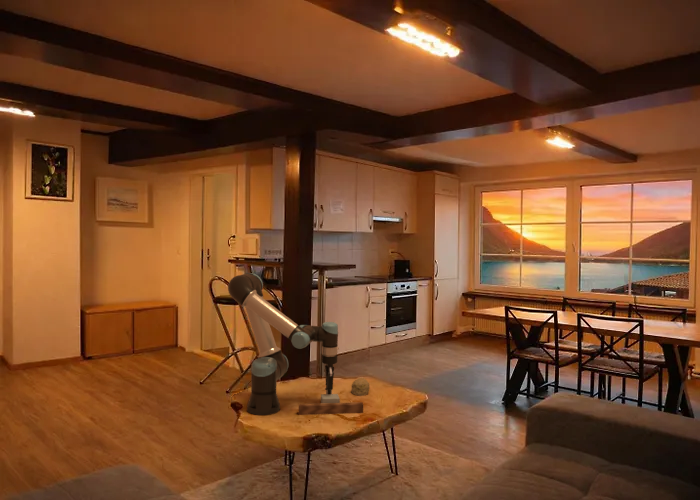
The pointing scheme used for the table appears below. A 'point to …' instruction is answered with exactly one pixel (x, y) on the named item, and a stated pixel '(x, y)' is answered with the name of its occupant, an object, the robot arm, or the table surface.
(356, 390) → the decorative object
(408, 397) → the table surface
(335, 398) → the block
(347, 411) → the brown wooden bar
